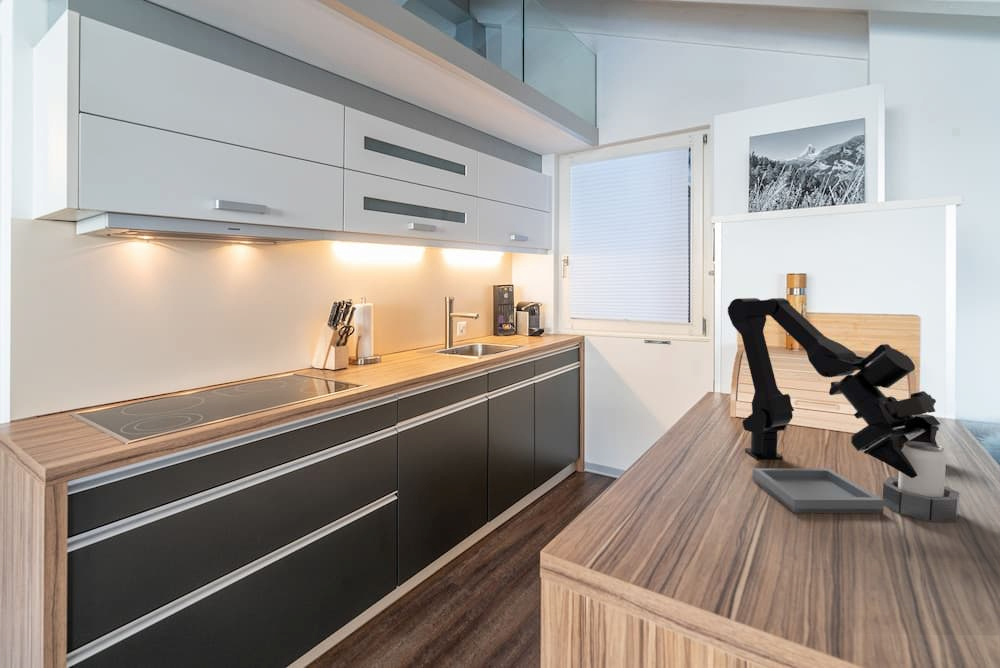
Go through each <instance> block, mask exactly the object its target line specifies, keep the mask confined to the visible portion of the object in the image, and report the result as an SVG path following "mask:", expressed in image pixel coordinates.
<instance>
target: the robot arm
mask: <svg viewBox="0 0 1000 668" xmlns="http://www.w3.org/2000/svg"><path fill="white" fill-rule="evenodd" d="M727 315H728V317H729V320H730V322H731V324H732V326H733V328H735V330H736V331H737V332H738V333H739V334H740V335H741V340H742V342H743V347H744V351H745V355H746V359H747V363H748V368H749V373H750V376H751V379H752V380H751V381H752V385H753V388H754V394H753V397H752V400H751V412H752V413H751V414H749V415H748V416H747V417H746V418H745V419H743V421H741V422H742V427H743V429H744V431H747V432H750V434H751V435H750V447H749V448H748V447H747V448H744V451H745V452H747V453H748V454H749V455H751V456H752V457H753V458H755V459H757V460H759V459H763V460H765V459H766V460H767V459H770V460H771V459H772V460H774V459H775V460H776V459H777V460H781V459H784V456H783V455H782V454H779V453H778V432H780V431H781V432H782V431H785V430H786V428H787V426H788V424H790V422H791V420H793V415H794V414H793V412H794V411H795V409H794V408H793V407H794V406H792V402H791V395H790V394H789V393H786V394H785V393H784V394H783V392H781V391H780V389H779V388H778V385H777V381H776V377H775V373H774V369H773V365H772V361H771V358H770V354H769V350H768V345H767V342H766V338H765V333H764V330H765V326H766V322H767V316H770V317H771V318H772V319H773V320H775V322H776V323H777V324H778V325H779V326H780V327H781V328H782V329H783V330H784V331H785V332H786V333H788V334H789V336H791V338H792V339H794V340H795V341H796V343H798V344H799V345H800V346H801V347H802V349H804V351H805V352H806V355H807V359H808V361H809V363H810V364H811V366H812V367H813V368H814V370H815V371H816V373H817V374H819V376H821V377H823V378H837V377H843V378H842V379H840V380H839V381H831V382H830V388H829V392H828V394H829V395H830V396H836V395H843V396H844V398H845V399H846V400H847V402H848V403H850V405H851V406H852V407H853V408H854V410H855V411H856V412H855V413H853V415H854V417H855V418H856V419H857V420H858V419H862V420H863V421H864V422H865V423H866V424H867V425H866V426H865V427H863V428H861V429H860V430H859V431H857V432H856V433H854V434H852V435H851V436H850V443H851V445H852V446H853V447H854V449H855V450H856V452H862V451H863V453H864V455H869V456H871V457H873V458H875V459H876V460H879V461H881V462H882V463H884V464H886V465H888V466H890V467H892V468H893V469H895V470H896V471H898V472H899V471H900V472H902V473H904V474H905V475H907V476H909V477H911V478H914V477H916V476H917V473H916V471H915V470H914V468H913V467H912V465H911V464H910V462H909V461H908V460H907V458H906V457H905V455H904V454H903V452H902V451H901V450H900V448H899V446H898V436H899V437H900V438H901V439H902V440H904V441H908V442H909V441H915V442H924V443H930V444H934V445H938V444H937V441H936V436H937V432H939V430H940V429H939V426H941V423H940V422H939V420H938V419H937V418H936V417H935V416H934V415H931V414H927V413H934V412H936V409H935V404H936V402H937V401H936V399H935V398H934V397H932V396H931V394H928V393H927V392H926V391H925V390H924V391H918V392H913V393H910V397H909V398H904V399H899V400H898V399H896V398H895V397H894V396H886V395H885V394H884V393H883V391H881V389H879V388H880V387H881V388H886V389H889V388H890V387H892V386H893V385H894V384H896V383H897V382H899V381H901V380H902V379H903V378H905V377H906V376H908V375H909V374H910V373H912V372H913V371H915V369H916V366H915V364H914V362H913V360H912V359H911V358H910V357H909V356H908V355H907V354H904V353H903V352H901V351H900V350H898V349H895V348H892V347H891V346H890V345H889V344H887V343H885V344H884V343H882V344H879V345H878V346H877V347H876V348H875V349H874V351H872V352H871V353H870V354H869V355H867V356H866V357H864V356H858V355H857V354H856V353H855V352H854V351H852V350H851V349H849V348H848V347H846V346H845V345H844V344H841V343H840V342H838V341H835V340H833V339H831V338H828V337H827V336H825V335H824V334H823V333H822V332H821V331H820V330H819V329H817V328H816V327H815V326H814V325H813V324H812V323H811V322H810V321H809V320H808V319H807V318H806V317H804V316H803V315H802V314H801V313H800V312H799V311H798V310H797V309H796V308H794V306H792V304H791V303H790V301H789V300H787V299H786V298H784V297H780V298H779V297H778V298H775V297H774V298H767V299H764V300H762V299H759V298H756V297H749V298H748V297H747V298H746V297H744V298H742V297H741V298H735V299H733V300H732V301H731V302H730V304H729V306H728V307H727ZM856 371H858V372H856ZM855 372H856V373H855ZM854 373H855V374H854ZM919 414H924V415H919ZM912 415H919V416H915V417H913V416H912ZM947 468H948V466H947V465H946V469H947Z"/></svg>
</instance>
